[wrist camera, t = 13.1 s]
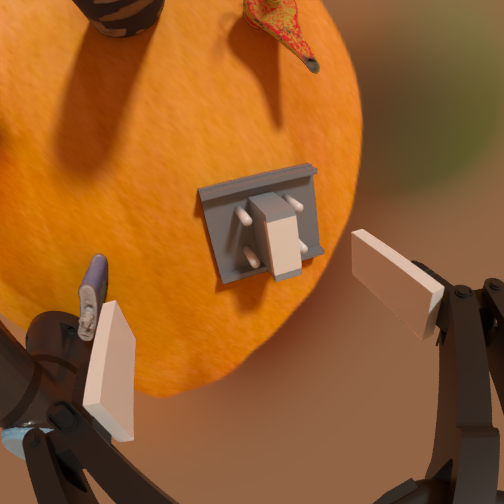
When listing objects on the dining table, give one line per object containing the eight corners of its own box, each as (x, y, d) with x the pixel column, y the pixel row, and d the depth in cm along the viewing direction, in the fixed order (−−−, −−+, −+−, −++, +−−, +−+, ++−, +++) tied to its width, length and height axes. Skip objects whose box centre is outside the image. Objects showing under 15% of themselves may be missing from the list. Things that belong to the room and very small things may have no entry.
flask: (92, 251, 39) (74, 291, 30) (111, 255, 40) (98, 296, 31) (88, 304, 42) (75, 349, 33) (105, 307, 43) (96, 354, 34)
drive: (258, 255, 45) (276, 282, 38) (247, 197, 41) (265, 215, 34) (281, 248, 45) (302, 274, 38) (272, 190, 41) (295, 207, 34)
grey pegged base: (220, 277, 46) (228, 298, 41) (197, 188, 39) (202, 200, 34) (317, 248, 48) (334, 265, 43) (308, 163, 42) (328, 170, 37)
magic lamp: (273, 87, 36) (309, 79, 26) (215, -18, 27) (232, -56, 18) (315, 71, 36) (359, 61, 27) (260, -31, 27) (289, -66, 18)
